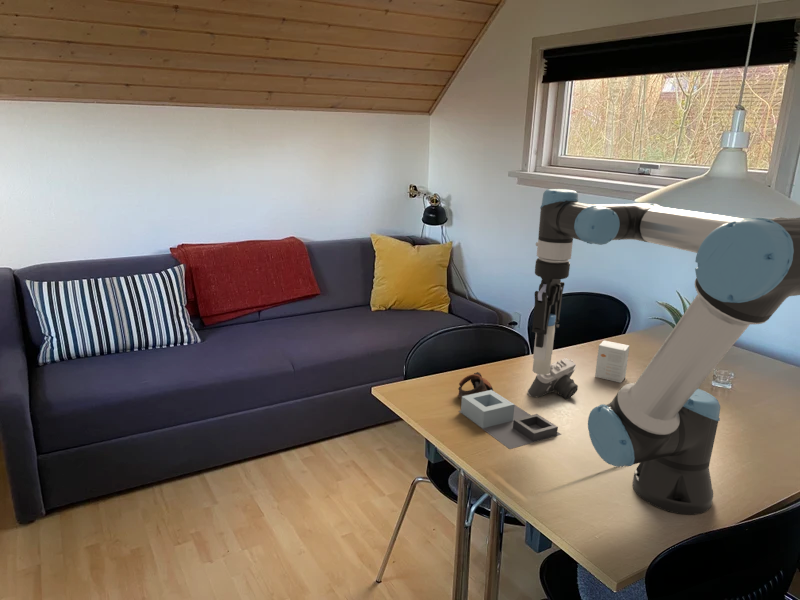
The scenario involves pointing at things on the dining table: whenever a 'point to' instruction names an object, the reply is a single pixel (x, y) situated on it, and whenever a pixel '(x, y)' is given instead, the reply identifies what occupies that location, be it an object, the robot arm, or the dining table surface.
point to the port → (487, 408)
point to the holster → (536, 435)
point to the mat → (511, 431)
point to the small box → (612, 361)
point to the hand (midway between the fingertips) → (542, 356)
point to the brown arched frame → (474, 385)
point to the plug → (544, 366)
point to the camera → (555, 380)
